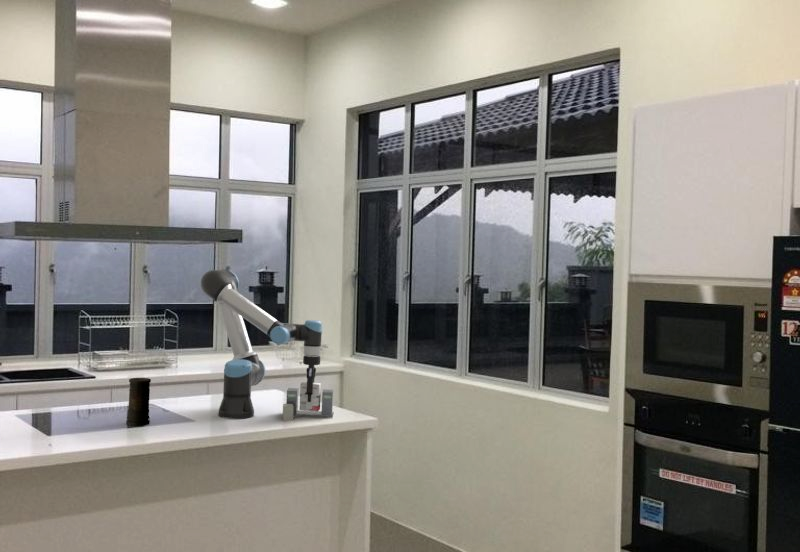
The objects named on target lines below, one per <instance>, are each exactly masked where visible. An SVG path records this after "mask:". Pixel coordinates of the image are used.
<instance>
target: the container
mask: <svg viewBox="0 0 800 552" xmlns="http://www.w3.org/2000/svg"><path fill="white" fill-rule="evenodd" d="M128 382H129V389H128V391H129V392H128V393H129V394H128V409H127V417H126V419H127V420H126V422H125V424H126V425H127V426H132V427H143V426H144V427H145V426H148V425H150V423H151V422H150V395H151V394H150V393H151V389H150V387H151V383H152V379H151V378H148V377H133V378H128Z"/></svg>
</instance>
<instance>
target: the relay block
mask: <svg viewBox="0 0 800 552" xmlns="http://www.w3.org/2000/svg"><path fill="white" fill-rule="evenodd" d="M293 408H294V406H293V404H286V403H283V404H282V420H283V421H294V416H293Z"/></svg>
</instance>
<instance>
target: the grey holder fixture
mask: <svg viewBox="0 0 800 552" xmlns="http://www.w3.org/2000/svg"><path fill="white" fill-rule="evenodd" d="M299 391H300V388H296V387H288V388H287V390H286V403H285V404H293V406H294V408H293V417H303V418H305V417H306V418H326V417H334V413H335V412H334V411H333V410H334V407H333V406H334V389H325V388H324V389H322V391H321V392H322V393H321V394H322V395H321V397H322V398H321V411H320V410H319V411H305V410H298V409H299V393H300V392H299Z"/></svg>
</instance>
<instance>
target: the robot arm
mask: <svg viewBox="0 0 800 552" xmlns="http://www.w3.org/2000/svg"><path fill="white" fill-rule="evenodd" d="M200 287H201V290H202V292H203V294H205V295H207V296H208V297H209V298H211V299H212V300H213V303H214V304H216V305H218V307H219V311H220V314H221V318H222V320H223V324H224V328H225V330H226V334H227V338H228V340H229V344H230V347H231V350H232V354H233V358H232V359H231V360H229V361H227V362H226V363H225V364H224V369H223V396H222V400H221V402H220V405H219V407H218V415H217V416H219V417H221V418H226V419H238V420H239V419H247V418H251V417H254V416H255V409H254V405H253V402H252V397H251V396H252V387H254V386H256V385H259V383H261V382H262V381H263V380H264V378H265V375H266V367H265V364H264V363H263V361H261V360H260V358H259V356H258V352H256V351H255V350H253V347H252V343H251V340H250V338H249V335H248V331H247V327H246V324H245V321H244V320H246V321H247V322H248V323H250V324H251V325H253V326H255V327H256V328H257V329H258V330H260V331H261V332H263V333H264V334H266V335H267V336H268V337H269V338H270V340H271V341H272V343H273V344H276V345H284V344H286V343H290V342H303V354H302V355H303V358H302V363H303V364H304V365H305V366H308V367H307V368H306V382H307V392H306V393H305V394H307V395H306V409H312V401H313V383H315V378H316V372H317V368H316V367H315V366H319V365H321V356H320V355H321V351H323V348H322V334H323V331H322V330H323V326H322V321H320V320H313V319H311V320H310V319H307V320H305V321H304V324H298V323H289V322H285V323H284V322H281V321H279V320H277V319H276V318H275V317H274V316H272V315H271V314H270V313H268V312H266V311H265V310H263V308H261V307H259V306H258V305H256V303H253V302H252V301H251V300H249V299H248V298H246V297H245V296H244V295H242V294H241V293H240V292H239V287H240V281H239V278H238V276H237V274H236V273H234V272H233V271H231V270H228V269H224V268H223V269H211V270H208V271H207V272H205V273H204V274H203V275H202V277H201V279H200Z"/></svg>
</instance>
